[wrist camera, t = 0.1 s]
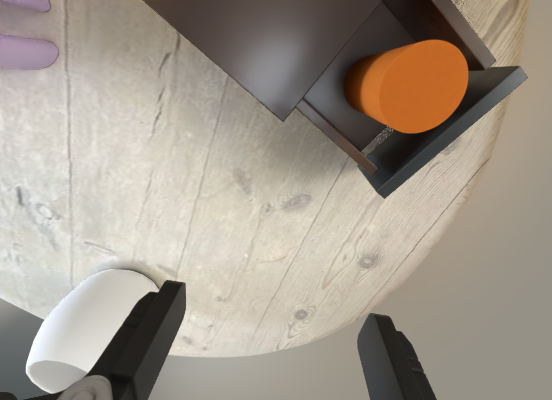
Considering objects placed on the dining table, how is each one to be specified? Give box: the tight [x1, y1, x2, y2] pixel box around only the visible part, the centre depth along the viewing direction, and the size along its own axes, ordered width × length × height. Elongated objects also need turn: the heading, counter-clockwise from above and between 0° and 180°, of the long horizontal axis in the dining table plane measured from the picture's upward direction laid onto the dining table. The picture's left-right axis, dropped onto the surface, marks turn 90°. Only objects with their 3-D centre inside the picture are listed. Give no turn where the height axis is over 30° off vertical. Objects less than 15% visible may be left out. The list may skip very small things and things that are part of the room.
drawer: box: [296, 0, 528, 199], centre depth 20 cm, size 16×12×7 cm
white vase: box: [26, 269, 159, 394], centre depth 33 cm, size 13×13×14 cm
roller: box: [344, 40, 468, 133], centre depth 18 cm, size 5×5×10 cm
